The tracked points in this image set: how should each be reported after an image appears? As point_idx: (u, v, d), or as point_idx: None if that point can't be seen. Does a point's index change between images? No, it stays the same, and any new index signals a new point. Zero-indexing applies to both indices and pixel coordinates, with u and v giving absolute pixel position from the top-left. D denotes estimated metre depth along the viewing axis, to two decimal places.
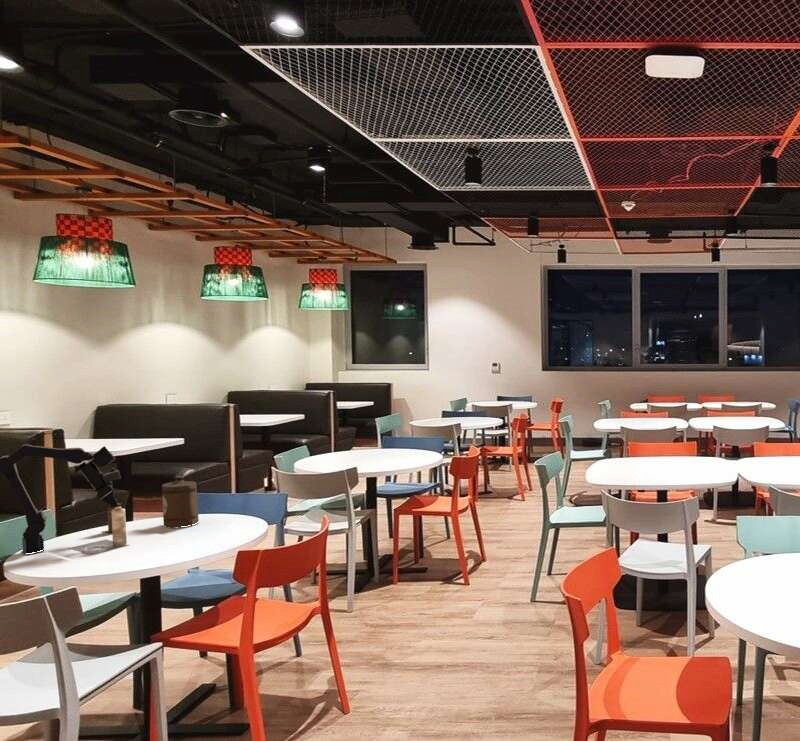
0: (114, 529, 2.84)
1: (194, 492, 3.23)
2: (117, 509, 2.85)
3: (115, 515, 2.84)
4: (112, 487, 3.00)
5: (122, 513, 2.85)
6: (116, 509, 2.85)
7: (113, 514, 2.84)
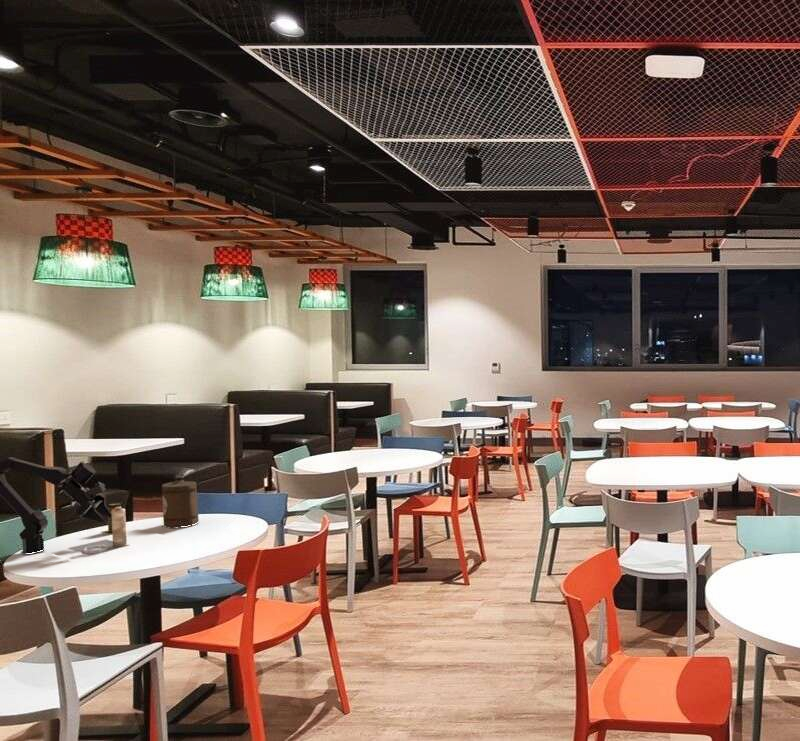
0: (114, 529, 2.84)
1: (194, 492, 3.23)
2: (117, 509, 2.85)
3: (115, 515, 2.84)
4: (103, 501, 2.91)
5: (122, 513, 2.85)
6: (116, 509, 2.85)
7: (113, 514, 2.84)
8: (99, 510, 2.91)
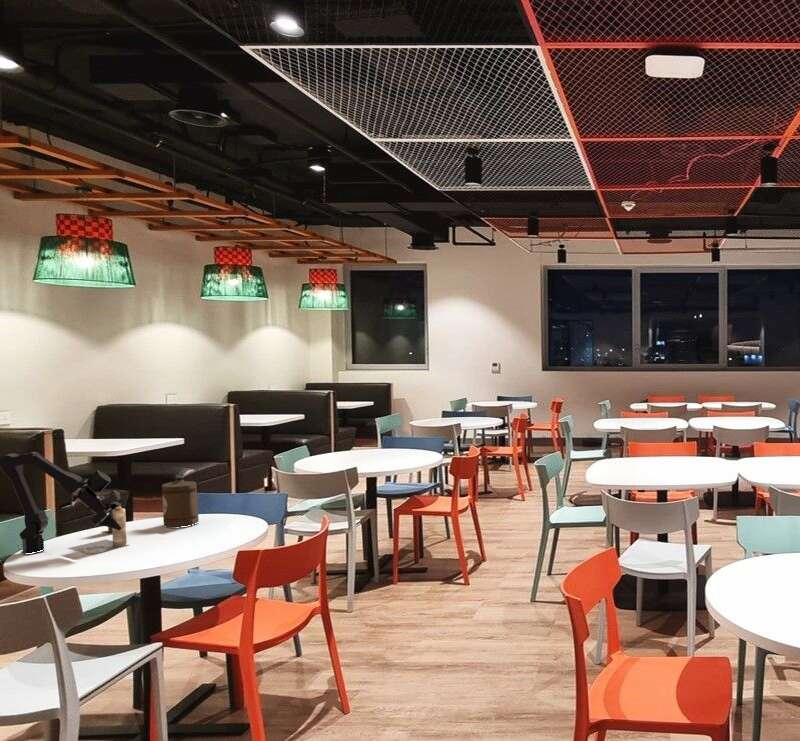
0: (114, 529, 2.84)
1: (194, 492, 3.23)
2: (117, 509, 2.85)
3: (115, 515, 2.84)
4: None
5: (122, 513, 2.85)
6: (116, 509, 2.85)
7: (113, 514, 2.84)
8: None
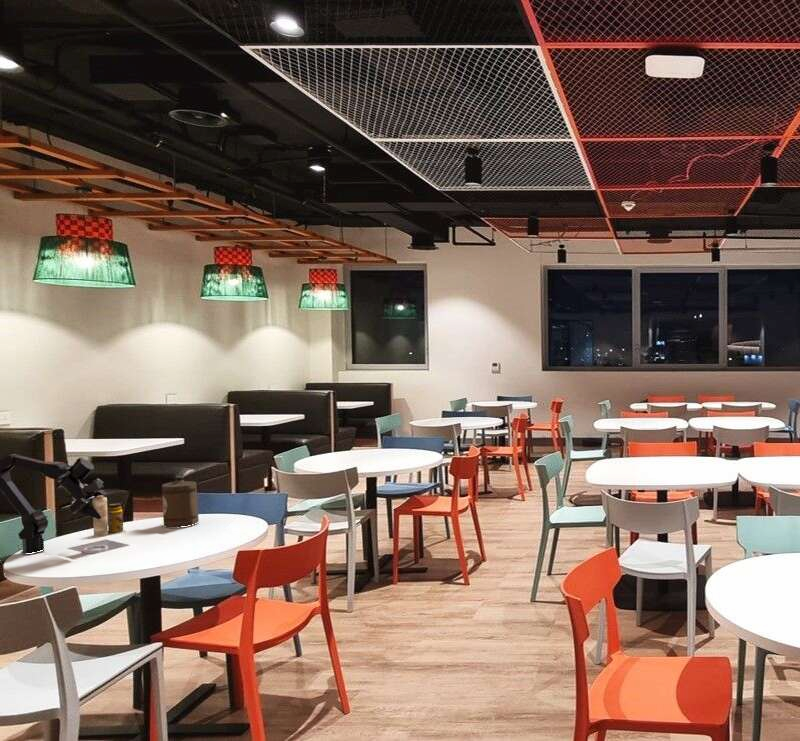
0: (94, 518, 2.80)
1: (194, 492, 3.23)
2: (98, 498, 2.80)
3: (95, 504, 2.79)
4: None
5: (102, 502, 2.80)
6: (97, 498, 2.81)
7: (94, 503, 2.80)
8: None
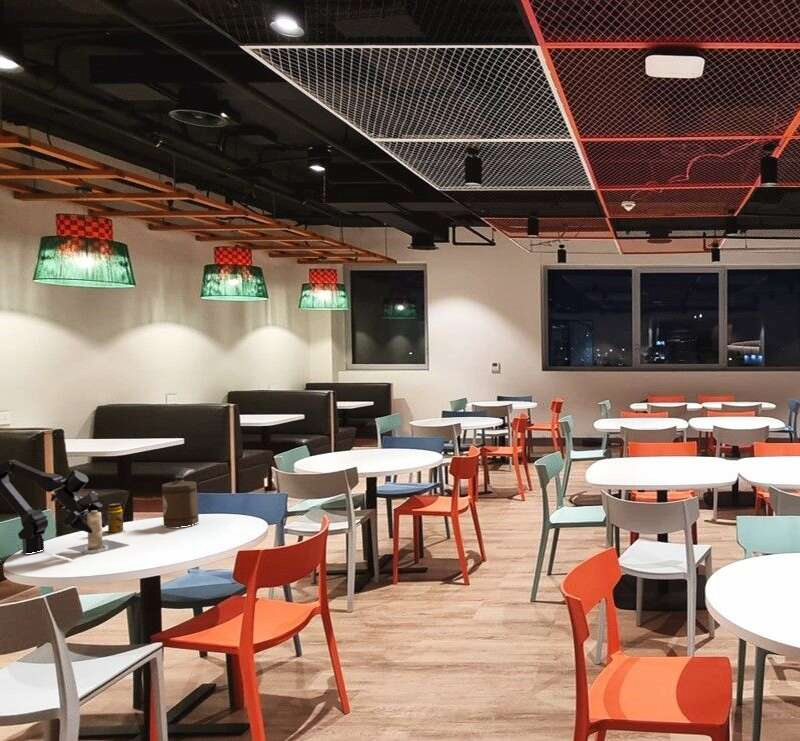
0: (89, 533, 2.78)
1: (194, 492, 3.23)
2: (92, 513, 2.79)
3: (89, 519, 2.78)
4: (97, 510, 2.85)
5: (96, 517, 2.78)
6: (91, 513, 2.79)
7: (88, 518, 2.78)
8: None
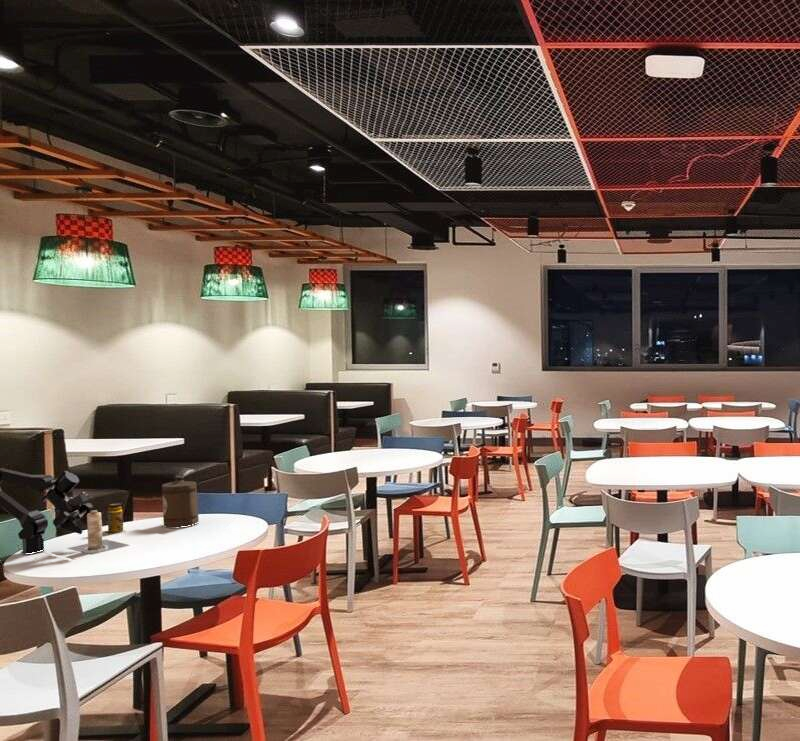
0: (89, 533, 2.78)
1: (194, 492, 3.23)
2: (92, 513, 2.79)
3: (89, 519, 2.78)
4: (88, 511, 2.86)
5: (96, 517, 2.78)
6: (91, 513, 2.79)
7: (88, 518, 2.78)
8: (84, 520, 2.86)
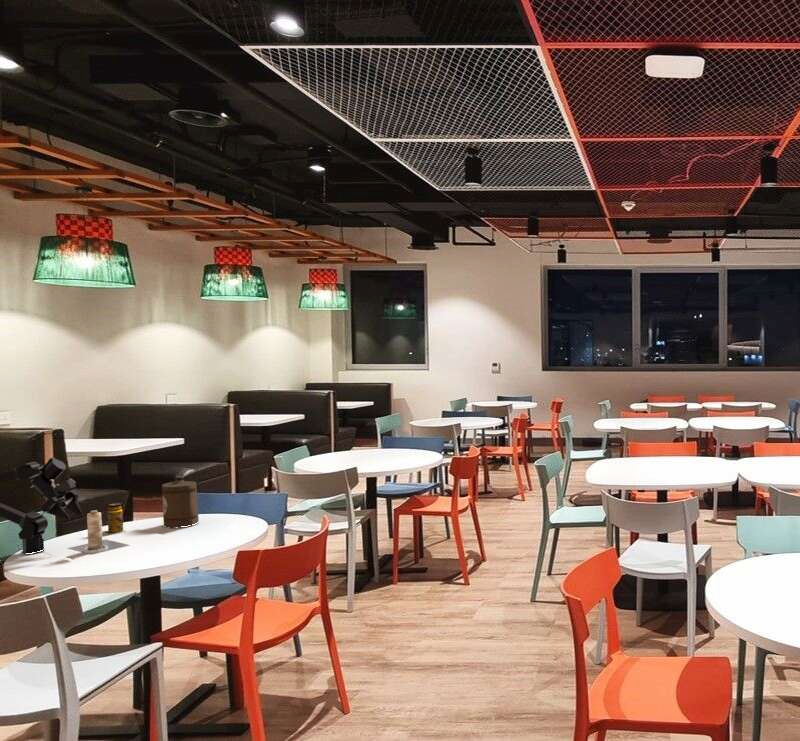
0: (89, 533, 2.78)
1: (194, 492, 3.23)
2: (92, 513, 2.79)
3: (89, 519, 2.78)
4: (75, 498, 2.87)
5: (96, 517, 2.78)
6: (91, 513, 2.79)
7: (88, 518, 2.78)
8: (70, 507, 2.87)
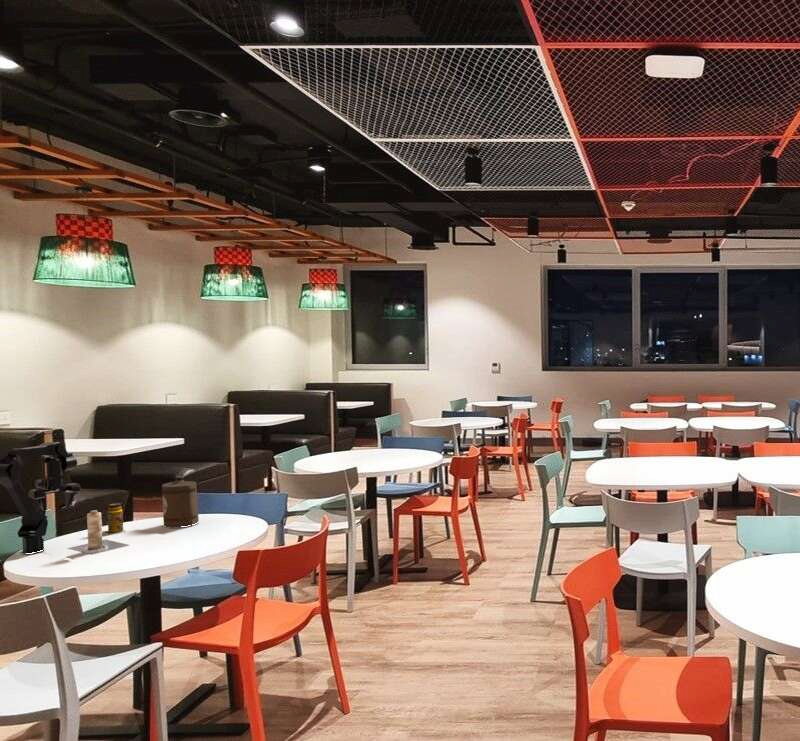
0: (89, 533, 2.78)
1: (194, 492, 3.23)
2: (92, 513, 2.79)
3: (89, 519, 2.78)
4: None
5: (96, 517, 2.78)
6: (91, 513, 2.79)
7: (88, 518, 2.78)
8: None
